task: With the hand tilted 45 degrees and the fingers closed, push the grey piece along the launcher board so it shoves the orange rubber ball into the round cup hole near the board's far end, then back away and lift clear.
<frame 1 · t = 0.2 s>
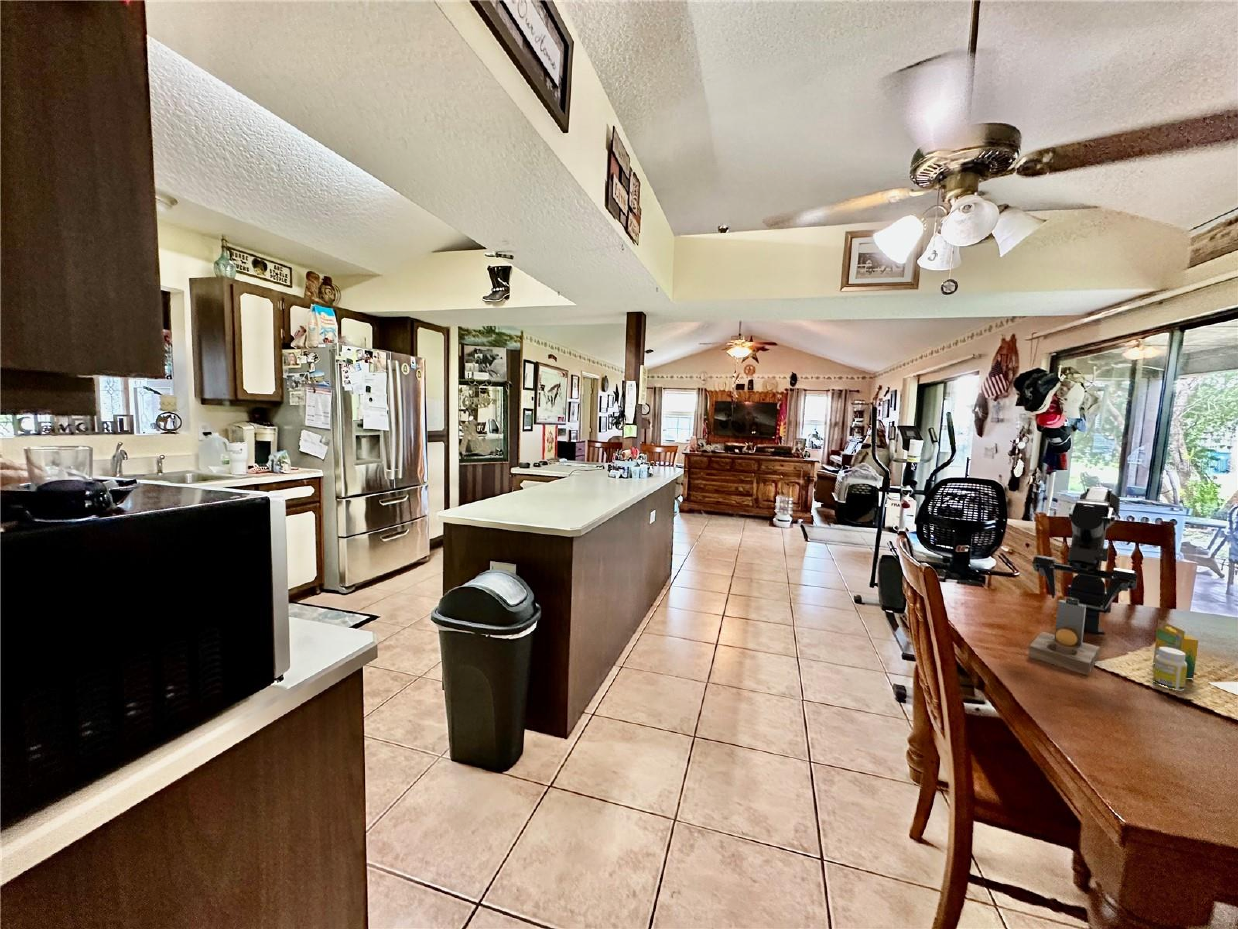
hand: (1077, 603, 118), 15 cm above the table, tool tilted 35°, fingers open, 9 cm apart
grey piece: (1070, 619, 123), point 9 cm above the table, slide at 0.0 cm
launcher board: (1063, 657, 121), on the table
crayon box: (1172, 673, 115), on the table
ball: (1066, 637, 121), point 5 cm above the table, touching launcher board
supplement bottle: (1168, 687, 108), on the table
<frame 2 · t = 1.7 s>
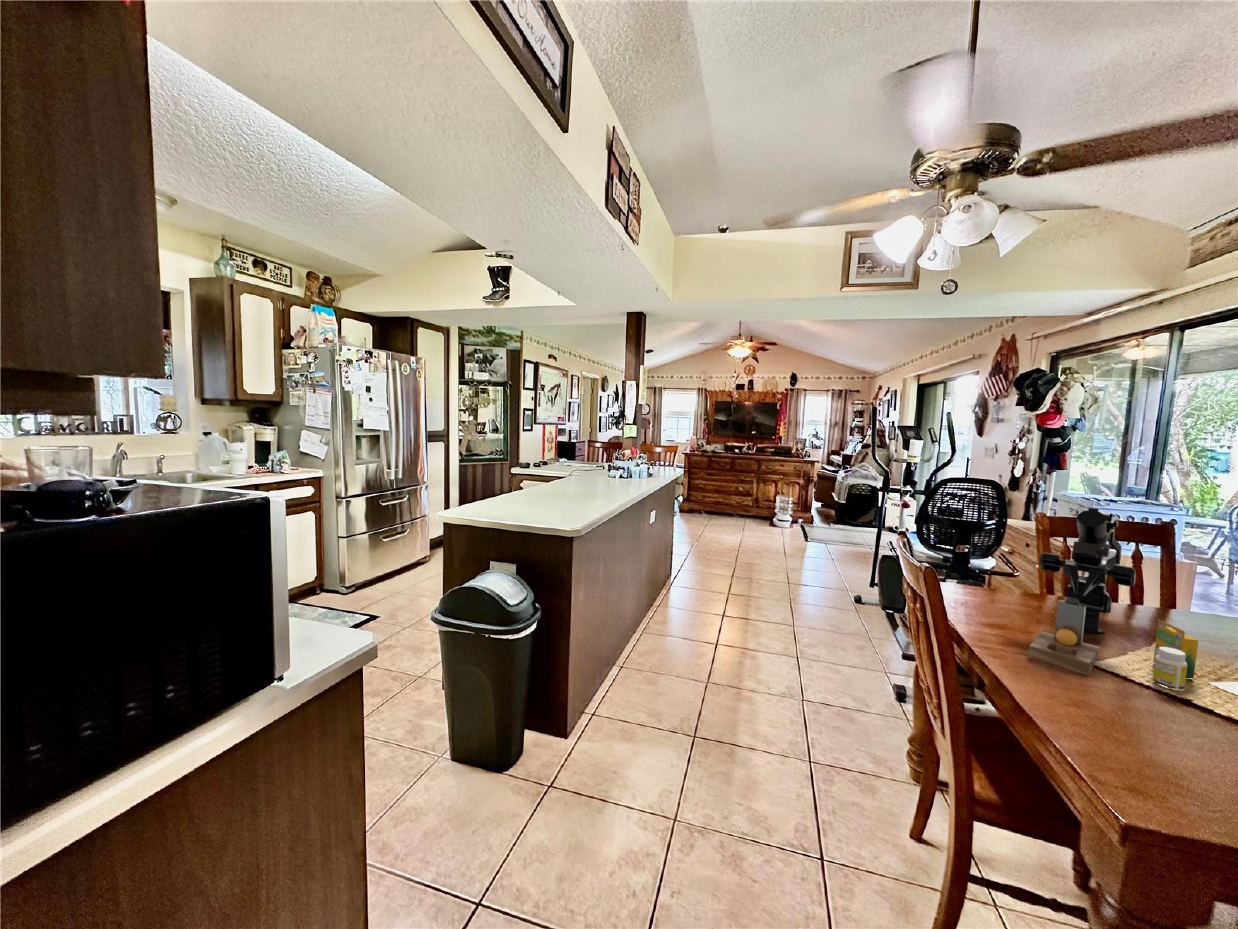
hand: (1079, 594, 128), 14 cm above the table, tool tilted 45°, fingers closed
nothing on the table moved.
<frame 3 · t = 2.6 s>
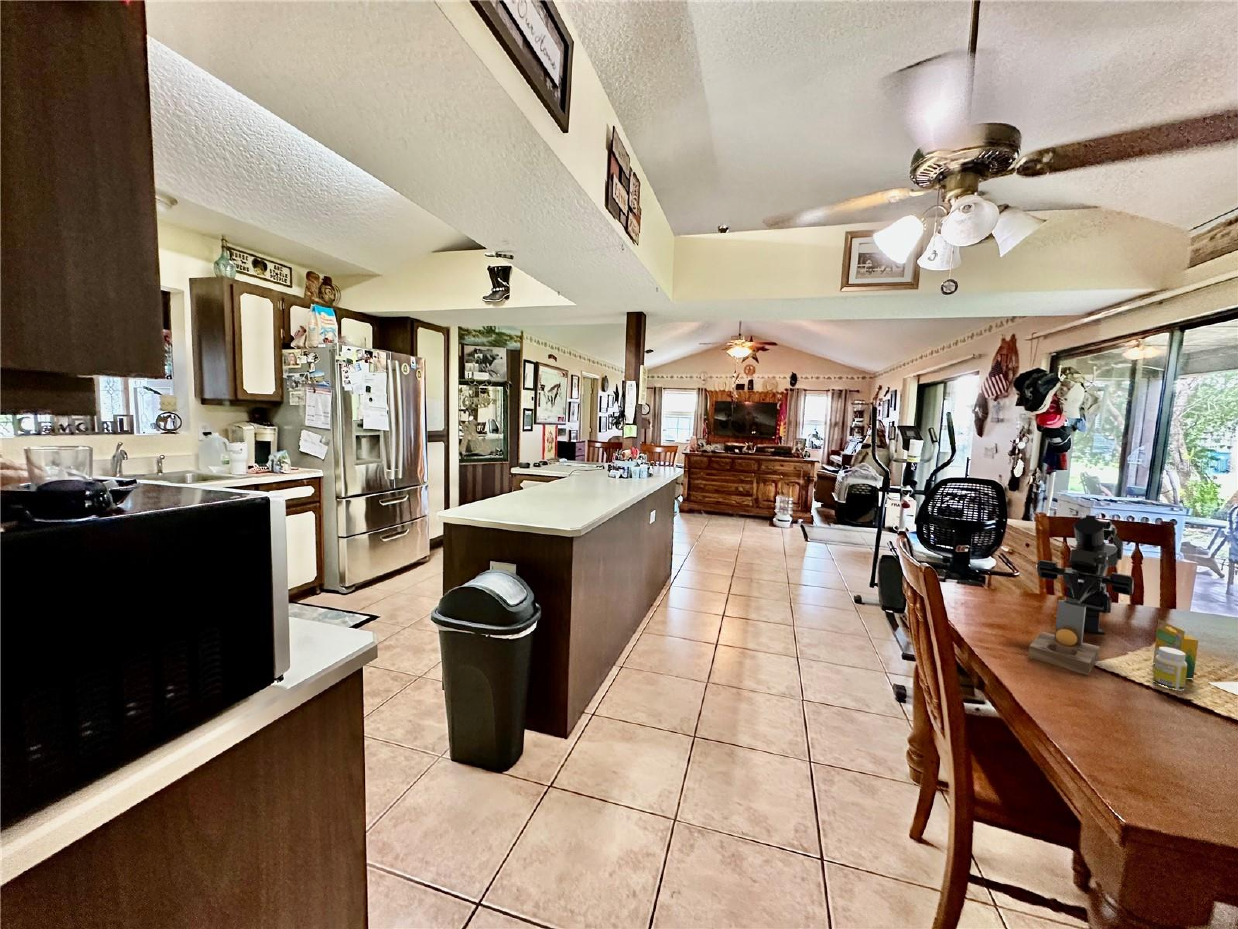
hand: (1076, 602, 127), 12 cm above the table, tool tilted 45°, fingers closed
nothing on the table moved.
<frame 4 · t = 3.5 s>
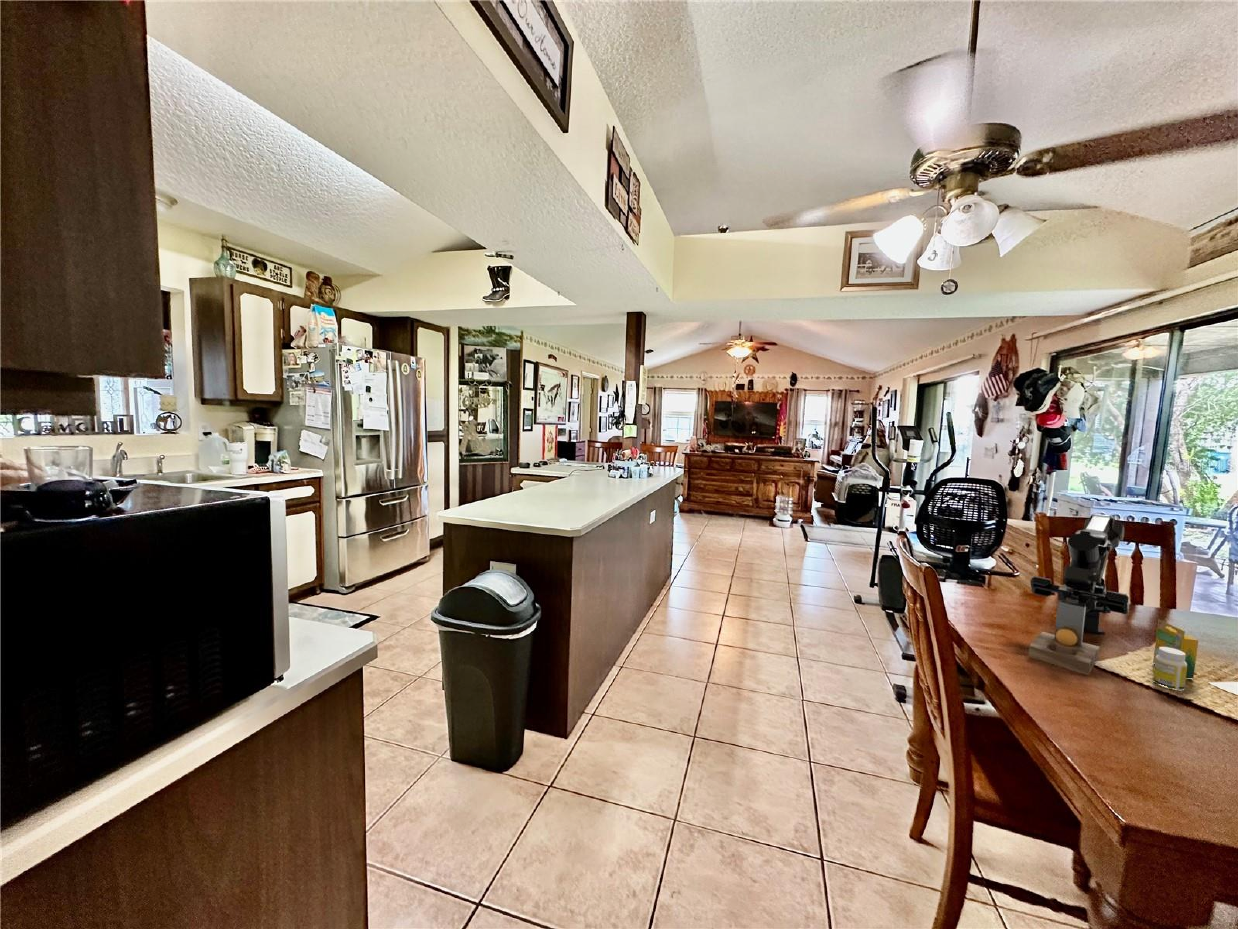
hand: (1070, 621, 124), 8 cm above the table, tool tilted 45°, fingers closed, pressing on grey piece
grey piece: (1070, 620, 123), point 9 cm above the table, slide at 0.3 cm, touching gripper
everything else where it was.
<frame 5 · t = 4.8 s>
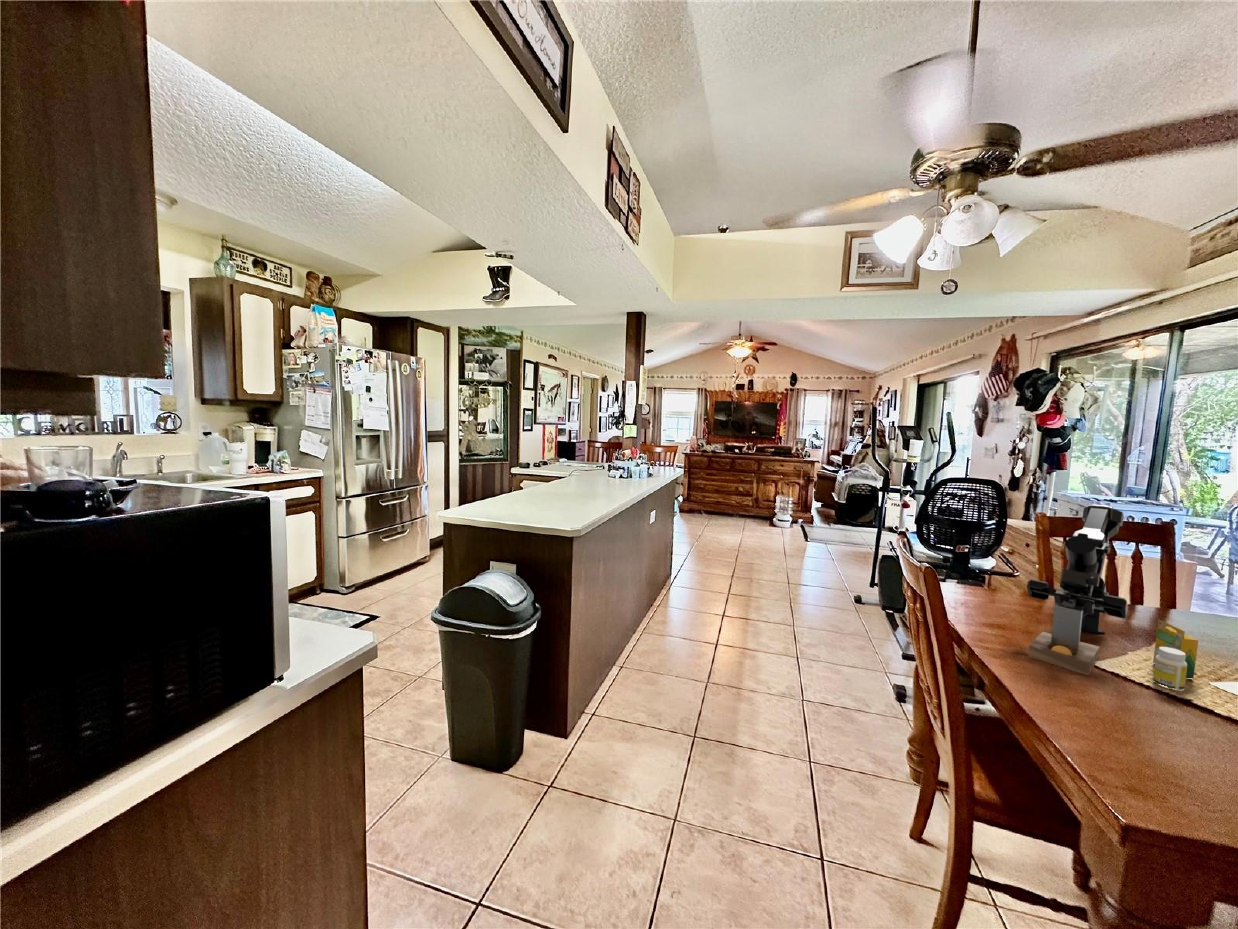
hand: (1067, 625, 121), 8 cm above the table, tool tilted 45°, fingers closed
grey piece: (1066, 624, 121), point 9 cm above the table, slide at 4.4 cm
ball: (1061, 654, 119), point 2 cm above the table, tilted 174°
everything else where it was.
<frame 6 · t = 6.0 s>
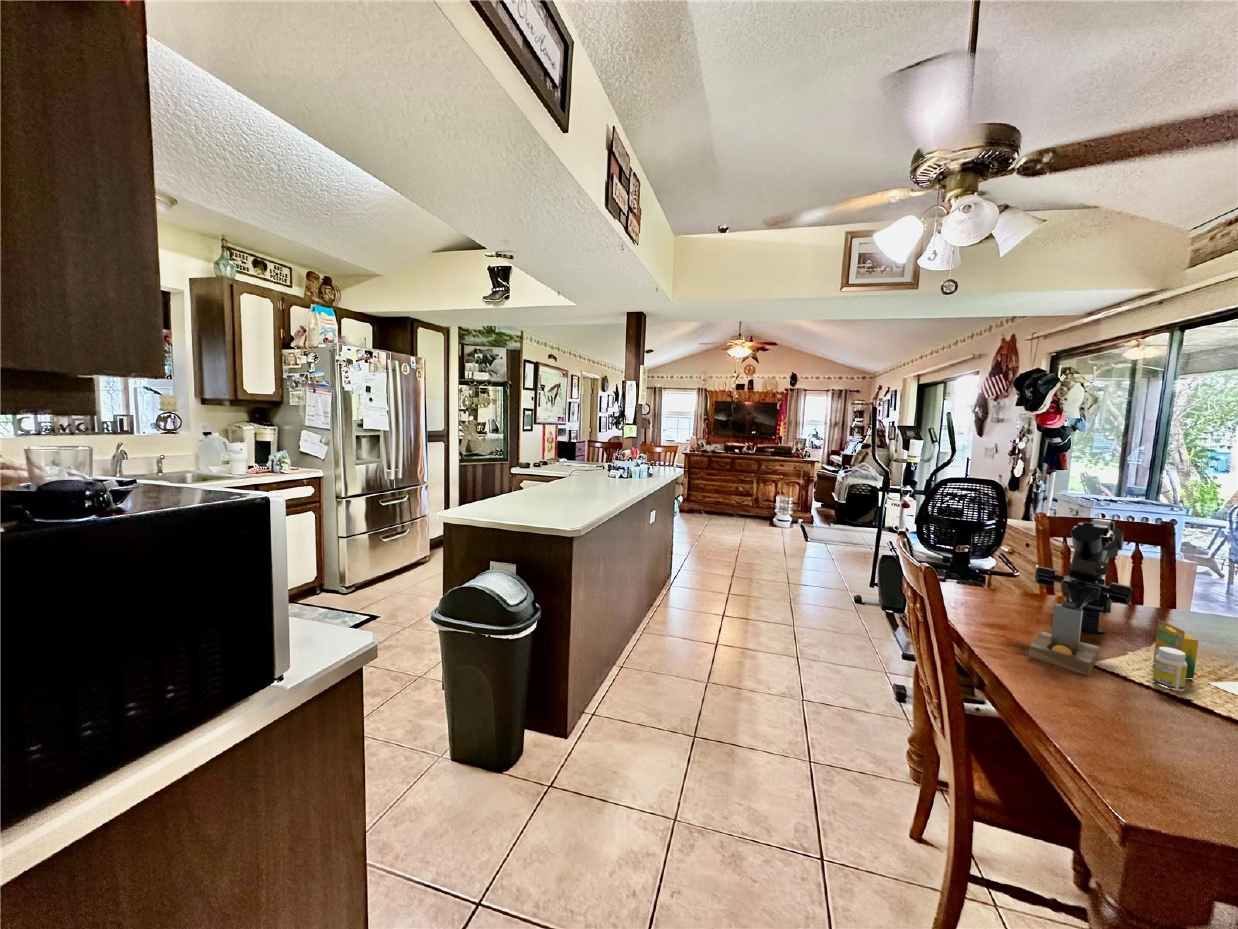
hand: (1075, 612, 126), 10 cm above the table, tool tilted 40°, fingers closed
ball: (1061, 653, 119), point 2 cm above the table, tilted 161°
everything else where it was.
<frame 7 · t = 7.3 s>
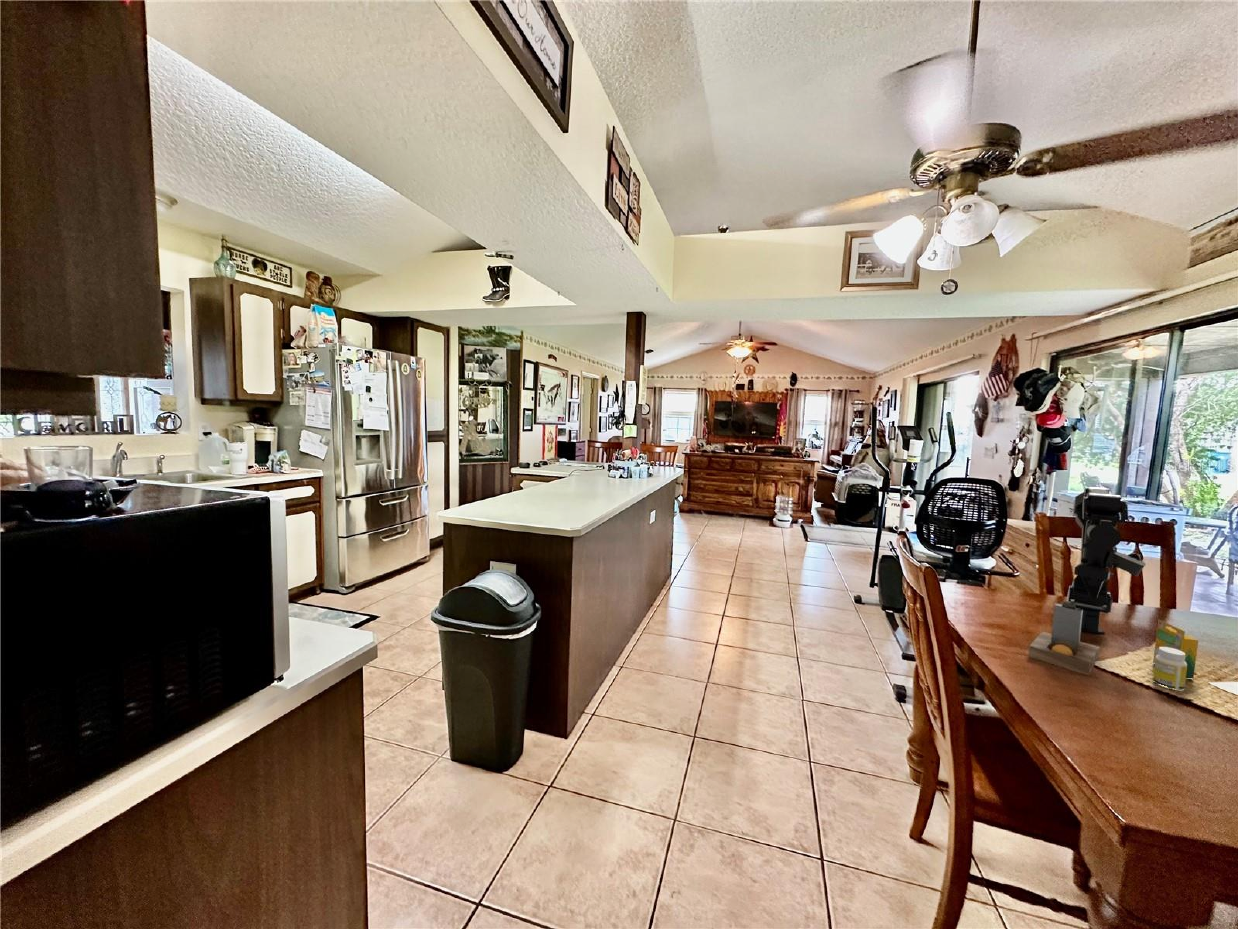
hand: (1093, 597, 128), 13 cm above the table, tool pointing down, fingers closed
ball: (1061, 653, 119), point 2 cm above the table, tilted 148°
everything else where it was.
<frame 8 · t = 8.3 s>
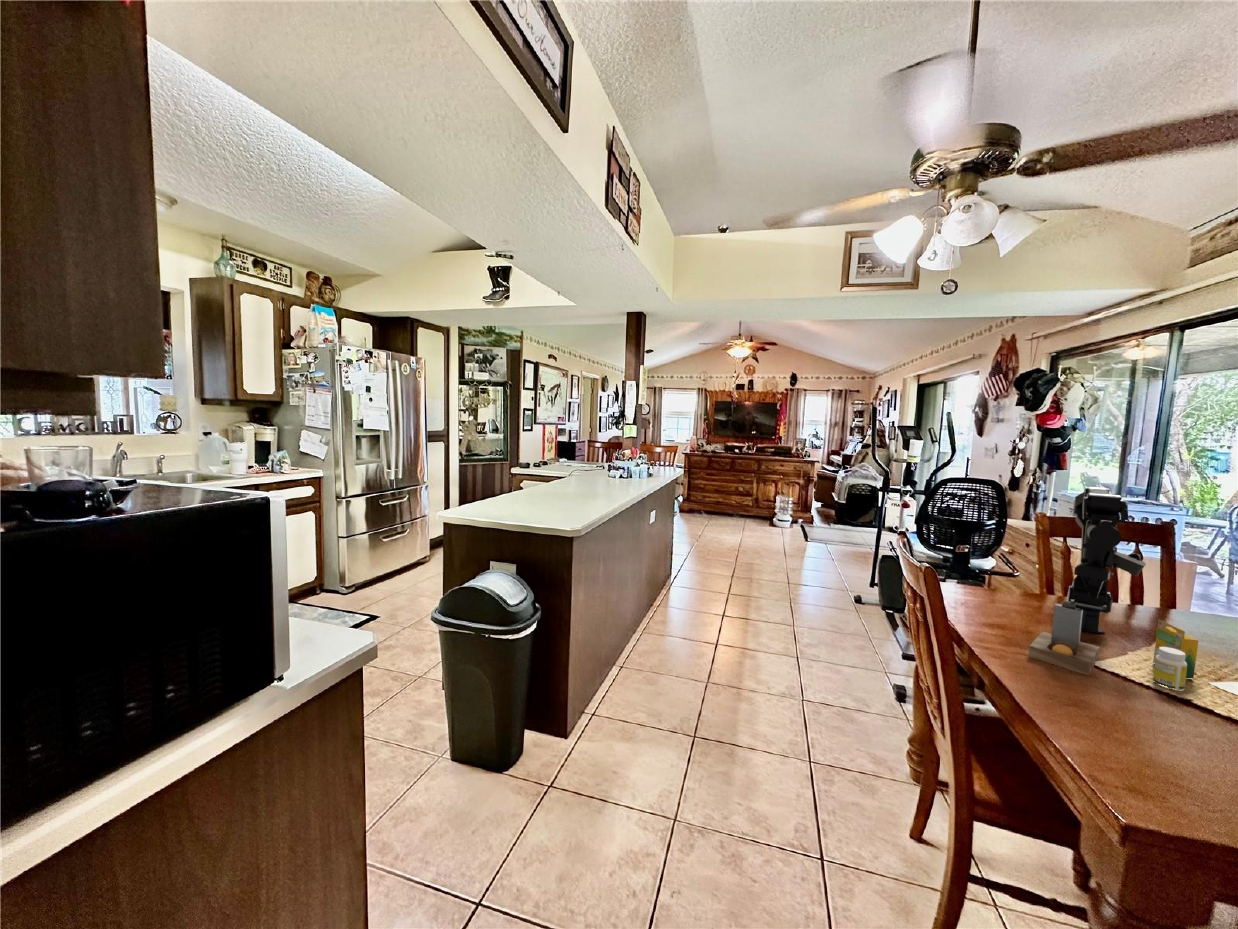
hand: (1093, 597, 128), 13 cm above the table, tool pointing down, fingers closed
ball: (1062, 652, 119), point 2 cm above the table, tilted 142°
everything else where it was.
at the end: ball 0.7 cm from the target spot on the launcher board, point 2.0 cm above the launcher board's base; grey piece slide at 4.4 cm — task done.
